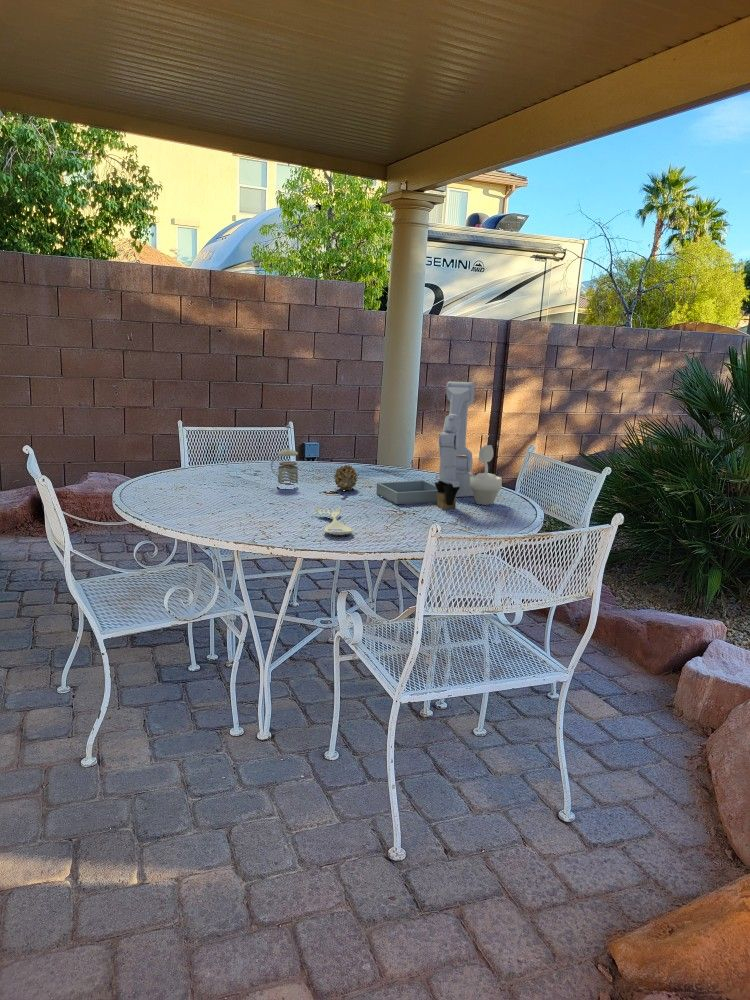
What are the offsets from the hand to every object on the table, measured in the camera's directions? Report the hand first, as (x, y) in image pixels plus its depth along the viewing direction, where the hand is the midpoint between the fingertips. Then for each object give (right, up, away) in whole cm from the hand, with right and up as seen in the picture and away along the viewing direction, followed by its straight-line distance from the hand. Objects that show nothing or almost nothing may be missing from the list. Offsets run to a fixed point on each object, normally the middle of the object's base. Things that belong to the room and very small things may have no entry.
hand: (446, 503), depth 263 cm
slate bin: (-12, +2, +15) cm, 19 cm away
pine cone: (-37, +4, +24) cm, 44 cm away
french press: (-61, +6, +30) cm, 69 cm away
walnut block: (0, -1, 0) cm, 1 cm away
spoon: (-39, -8, -30) cm, 49 cm away
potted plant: (+15, 0, +8) cm, 17 cm away
